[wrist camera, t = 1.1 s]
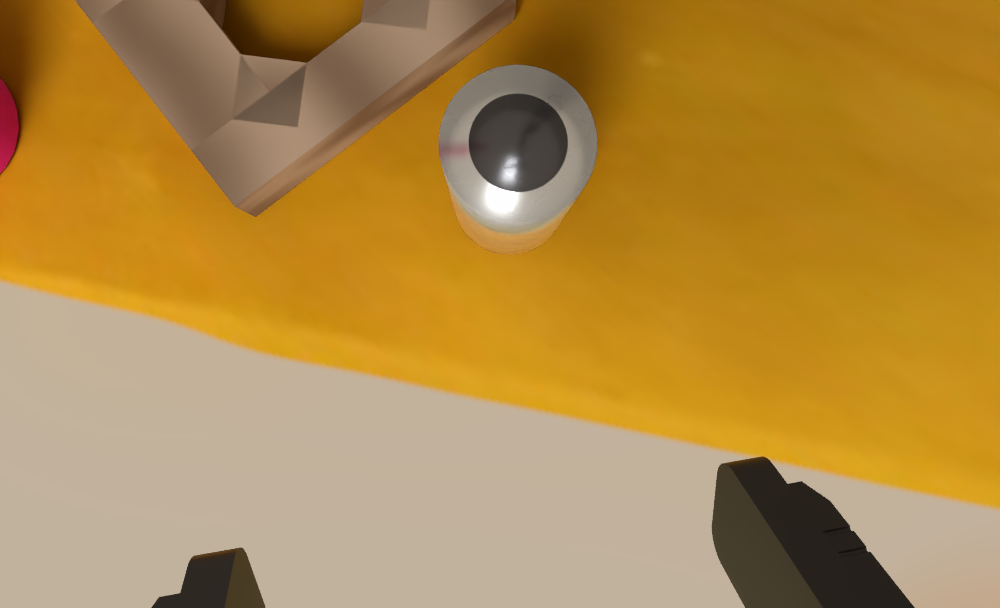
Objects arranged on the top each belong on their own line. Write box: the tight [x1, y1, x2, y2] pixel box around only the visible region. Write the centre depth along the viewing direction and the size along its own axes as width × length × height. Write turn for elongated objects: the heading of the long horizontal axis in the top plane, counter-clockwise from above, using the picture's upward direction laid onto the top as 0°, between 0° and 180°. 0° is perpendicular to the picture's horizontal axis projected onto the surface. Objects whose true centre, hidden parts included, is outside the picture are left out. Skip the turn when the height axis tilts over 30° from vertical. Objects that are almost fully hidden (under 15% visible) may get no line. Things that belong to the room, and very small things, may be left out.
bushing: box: [439, 65, 597, 255], centre depth 26 cm, size 5×5×9 cm
